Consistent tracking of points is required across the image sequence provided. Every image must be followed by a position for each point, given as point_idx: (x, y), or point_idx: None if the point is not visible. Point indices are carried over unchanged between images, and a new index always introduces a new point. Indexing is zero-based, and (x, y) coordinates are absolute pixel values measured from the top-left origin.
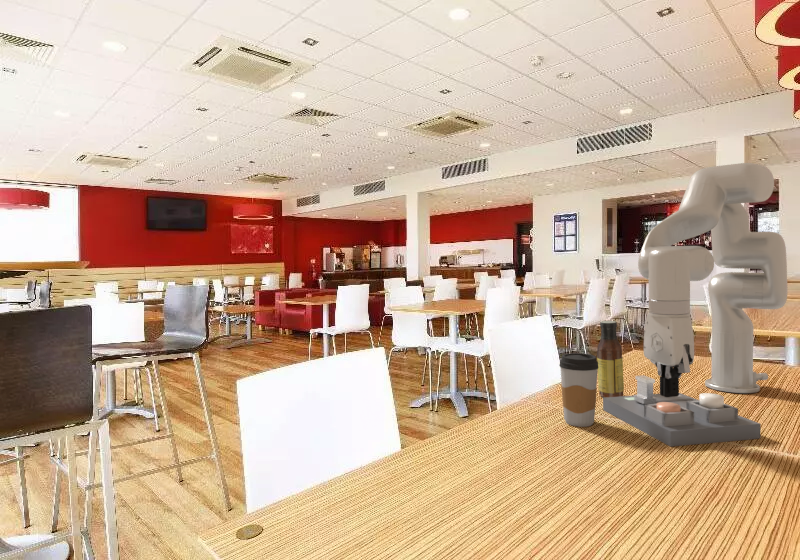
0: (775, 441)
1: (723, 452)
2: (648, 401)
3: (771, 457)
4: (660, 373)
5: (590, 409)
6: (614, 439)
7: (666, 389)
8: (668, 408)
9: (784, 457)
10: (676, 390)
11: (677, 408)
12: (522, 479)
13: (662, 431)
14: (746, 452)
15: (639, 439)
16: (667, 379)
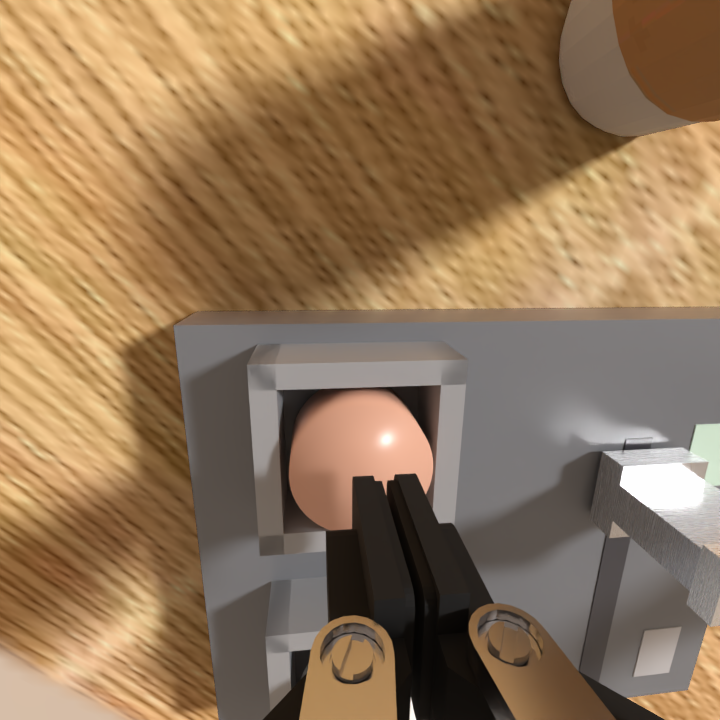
0: (199, 707)
1: (105, 483)
2: (606, 485)
3: (40, 609)
4: (493, 638)
5: (619, 18)
6: (340, 85)
7: (358, 525)
8: (303, 435)
9: (39, 647)
10: (327, 589)
11: (292, 488)
12: None
13: (249, 319)
14: (98, 561)
15: (313, 224)
16: (371, 616)
